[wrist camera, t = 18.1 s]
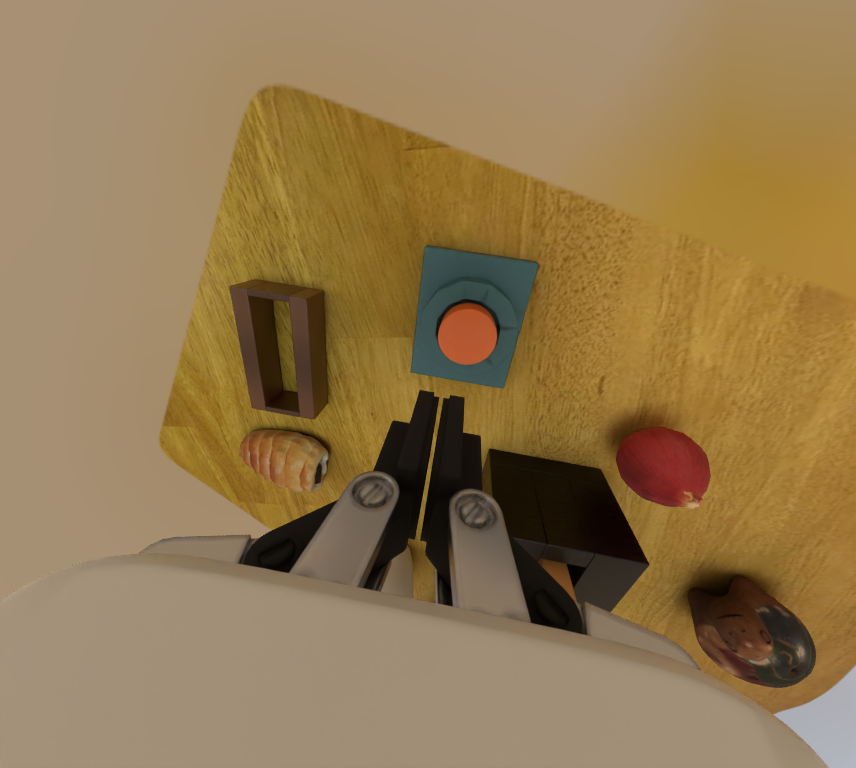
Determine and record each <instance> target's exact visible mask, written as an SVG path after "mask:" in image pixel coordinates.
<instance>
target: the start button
mask: <svg viewBox="0 0 856 768" xmlns="http://www.w3.org/2000/svg"><path fill="white" fill-rule="evenodd" d="M438 342H439V346H440V348H441V350H442V352H443V353H444V354H445V356H446V357H448V358H449V359H450V360H452V361H454V362H456V363H459V364H464V365H470V364H476V363H478V362H481V361H483V360H484V359H486V358H487V357H488V356H489V355H490V354H491V353H492V351H493V350H494V348H495V345H496V342H497V330H496V326H495V322H494V319H493V317H492V315H491V314H490V312H489V311H488V310H487V309H485V308H484V307H482V306H481V305H478V304H475V303H462V304H459V305H456V306H454V307H453V308H451V309H450V310H449V311H448V312H447V313H446V314H445V316H444V317H443V319H442V322H441V325H440V328H439V332H438Z"/></svg>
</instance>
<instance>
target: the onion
mask: <svg viewBox="0 0 856 768" xmlns="http://www.w3.org/2000/svg"><path fill="white" fill-rule="evenodd" d="M616 462H617V466H618V469H619V472H620V475H621V478H622V479H623V480H624V481H625V483H626V484H627V485H628V486H629V487H630V488H631V489H632V490H633V491H634V492H636V493H637V494H638V495H639V496H641V497H642V498H644V499H646V500H649V501H652V502H655V503H658V504H661V505H664V506H670V507H678V506H680V507H687V508H691V509H694V508H696V507H698V506H699V505H700V503H701V502H702V501H703V499H702V498H701V497H702V495H703V494H704V493H705V492H706V490H707V488H708V484H709V481H710V476H711V475H710V468H709V462H708V459H707V456H706V454H705V452H704V451H703V450H702V449H701V447H700V446H699V445H697V444H696V443H695V442H694V441H693V440H692V439H691V438H689V437H688V436H687V435H685V434H684V433H681V432H678V431H674V430H671V429H668V428H665V427H653V428H647V429H643V430H639V431H637V432H635V433H633V434H631V435H629V436H627V437H626V438H625V439H624V440H623V441H622V443H621V444H620V446H619V449H618V452H617V457H616Z"/></svg>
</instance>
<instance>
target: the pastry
mask: <svg viewBox="0 0 856 768" xmlns="http://www.w3.org/2000/svg"><path fill="white" fill-rule="evenodd" d="M239 456H240V457H241V458H242V459H243V461H244V462H245V464H246V465H248V466H249V467H251V468H253V469H254V471H255V473H258V474H261V475H263V477H264V478H265V480H266V481H273V482H274V483H275V484H276V486H277V487H278V488H285V487H287V488H288V489H290V490H291V491H292V492H293V493H298V492H301V491H303V490H305V491H306V492H307V493H312V492H313V491H315V490H317V489H318V488H319V487H320V486H321V485H322V483H323V476H324V475H325V474H326V471H327V467H326V466H327V464H326V461H327V460H328V451H327V450H326V449H325V448H324V447H323V446H322V445H321V443H320V442H319V441H317V440H316V439H314V438H313V437H311V436H304V435H302V434H300V433H298V432H292V431H283V430H270V429H267V430H258V431H254V432H251V433H250V434H248V435H247V436H245V438H244V439H243V441H242V443H241V449H240V451H239Z"/></svg>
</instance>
